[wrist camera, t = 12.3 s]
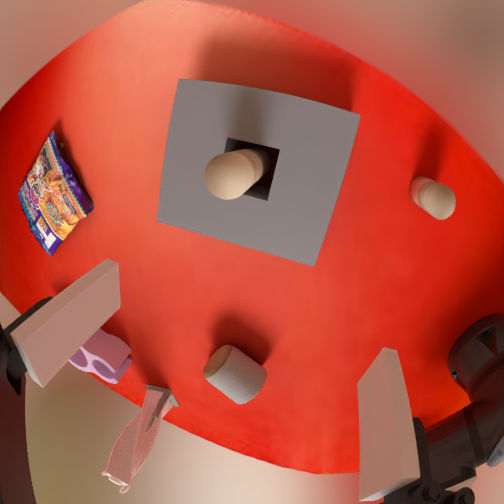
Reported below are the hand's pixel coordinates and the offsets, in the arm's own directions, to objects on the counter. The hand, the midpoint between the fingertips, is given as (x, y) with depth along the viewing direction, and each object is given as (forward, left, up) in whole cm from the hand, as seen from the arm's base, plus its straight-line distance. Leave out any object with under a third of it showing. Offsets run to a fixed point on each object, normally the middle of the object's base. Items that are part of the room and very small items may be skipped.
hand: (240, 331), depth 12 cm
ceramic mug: (+1, +29, -23) cm, 37 cm away
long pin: (+5, -4, -23) cm, 24 cm away
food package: (+42, +9, -24) cm, 49 cm away
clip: (+32, +39, -23) cm, 55 cm away
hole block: (+4, -4, -23) cm, 23 cm away
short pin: (-16, -7, -23) cm, 29 cm away
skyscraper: (+15, +51, -23) cm, 58 cm away
